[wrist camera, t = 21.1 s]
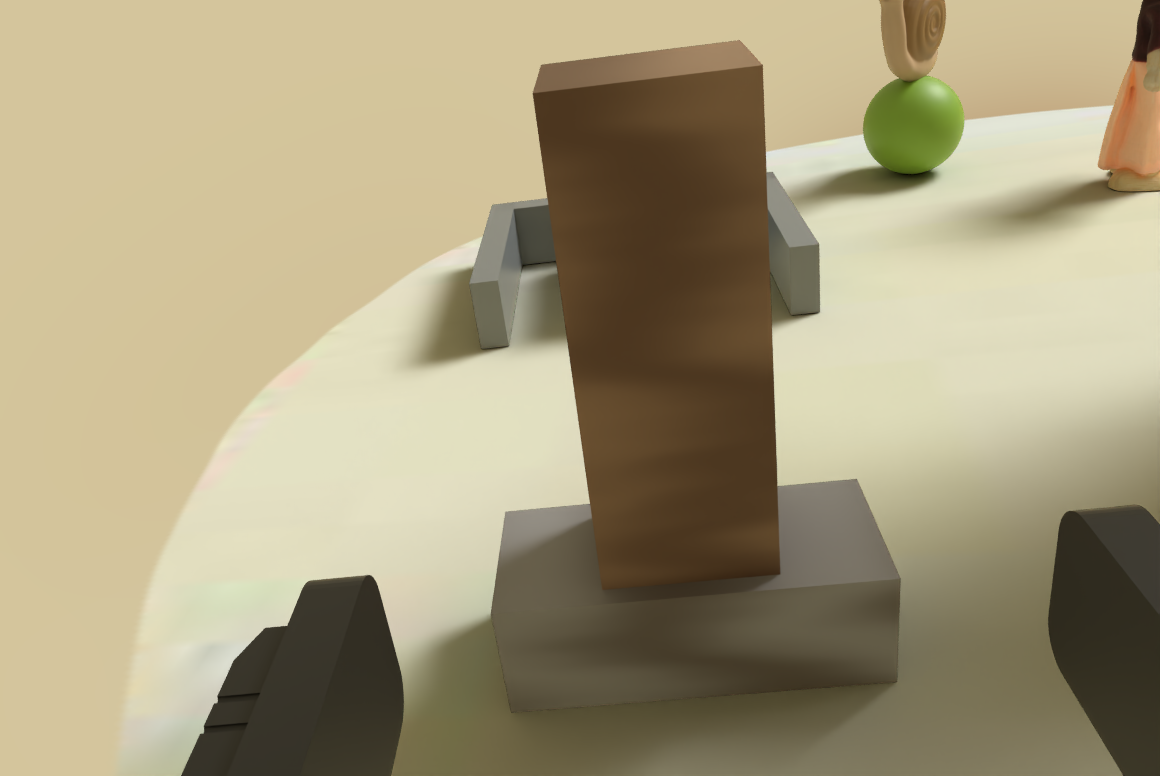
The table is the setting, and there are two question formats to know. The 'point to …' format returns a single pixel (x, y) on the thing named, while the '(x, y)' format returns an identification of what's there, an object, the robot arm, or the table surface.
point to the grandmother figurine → (1137, 113)
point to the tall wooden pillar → (678, 418)
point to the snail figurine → (913, 92)
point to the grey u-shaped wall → (528, 240)
